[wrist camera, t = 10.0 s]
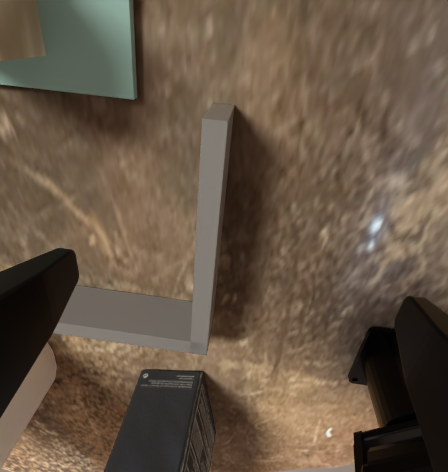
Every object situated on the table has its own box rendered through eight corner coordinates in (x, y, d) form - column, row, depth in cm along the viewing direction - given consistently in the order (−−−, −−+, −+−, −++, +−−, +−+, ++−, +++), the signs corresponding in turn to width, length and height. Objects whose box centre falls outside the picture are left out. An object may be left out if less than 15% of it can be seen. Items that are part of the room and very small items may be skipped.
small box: (137, 367, 32) (88, 495, 23) (203, 368, 31) (179, 502, 22) (159, 429, 38) (126, 552, 29) (217, 432, 37) (201, 560, 28)
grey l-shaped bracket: (213, 315, 28) (206, 355, 24) (-80, 274, 29) (-126, 306, 25) (234, 105, 19) (227, 121, 16) (-186, 57, 20) (-277, 63, 17)
